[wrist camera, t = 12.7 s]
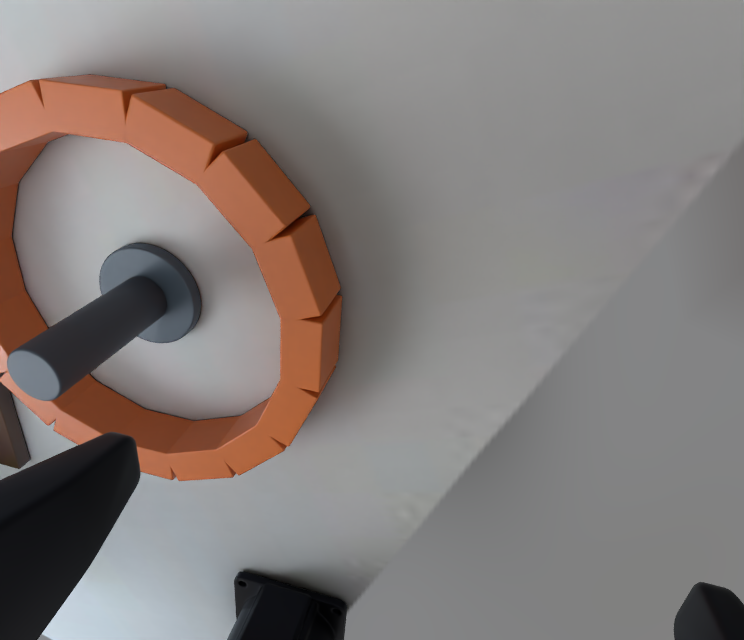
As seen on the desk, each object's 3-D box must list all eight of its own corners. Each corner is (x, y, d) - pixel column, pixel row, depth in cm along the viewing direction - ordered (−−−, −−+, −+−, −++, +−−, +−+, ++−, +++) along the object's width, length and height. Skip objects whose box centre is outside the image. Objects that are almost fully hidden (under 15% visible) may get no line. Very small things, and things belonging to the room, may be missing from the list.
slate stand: (205, 345, 24) (104, 444, 18) (116, 326, 24) (-7, 414, 19) (197, 252, 21) (81, 330, 16) (100, 234, 22) (-45, 302, 17)
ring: (330, 479, 25) (313, 518, 23) (30, 403, 28) (-9, 432, 26) (355, 108, 17) (332, 118, 15) (-69, 53, 20) (-136, 55, 18)
